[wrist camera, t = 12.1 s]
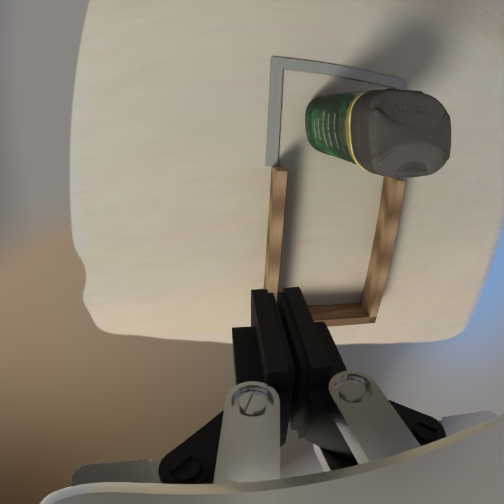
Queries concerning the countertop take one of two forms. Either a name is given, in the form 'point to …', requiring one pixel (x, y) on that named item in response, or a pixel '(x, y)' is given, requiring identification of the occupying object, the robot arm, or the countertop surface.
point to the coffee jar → (382, 131)
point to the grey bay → (313, 67)
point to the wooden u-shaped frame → (378, 260)
